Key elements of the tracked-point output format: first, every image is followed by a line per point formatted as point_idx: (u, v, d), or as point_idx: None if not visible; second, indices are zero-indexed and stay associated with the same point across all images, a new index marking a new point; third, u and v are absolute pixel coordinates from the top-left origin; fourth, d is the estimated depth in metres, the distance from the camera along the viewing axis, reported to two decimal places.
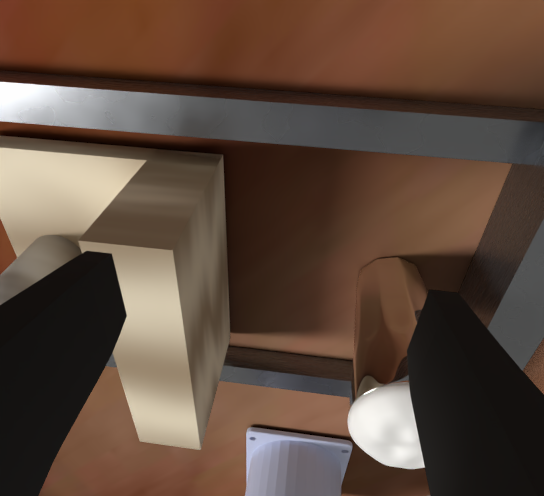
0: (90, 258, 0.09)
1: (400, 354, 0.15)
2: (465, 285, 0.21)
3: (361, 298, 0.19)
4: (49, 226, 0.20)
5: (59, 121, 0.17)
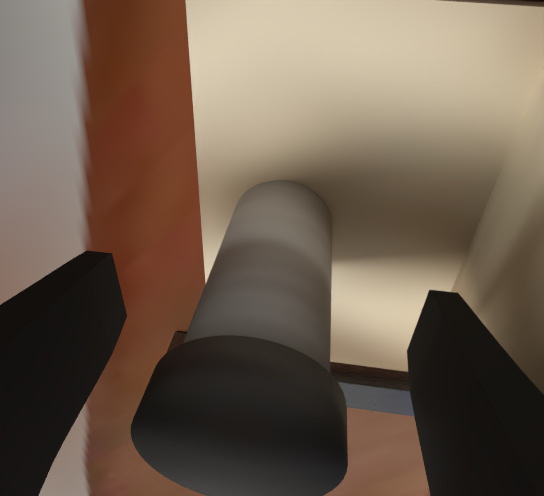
0: (90, 258, 0.09)
1: None
2: None
3: None
4: (285, 163, 0.11)
5: None
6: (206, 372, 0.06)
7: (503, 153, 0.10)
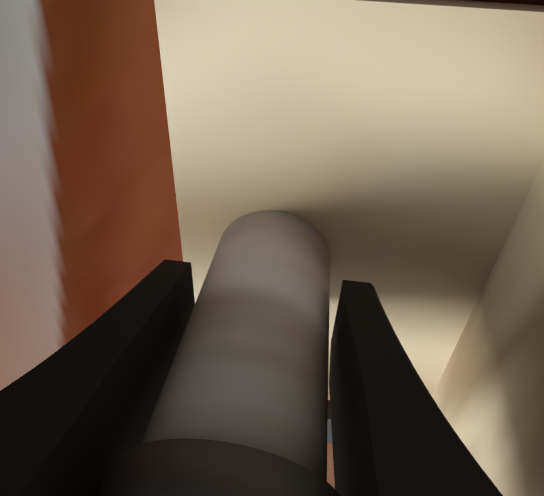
0: (172, 268, 0.09)
1: None
2: None
3: None
4: (276, 191, 0.10)
5: None
6: None
7: (528, 183, 0.09)
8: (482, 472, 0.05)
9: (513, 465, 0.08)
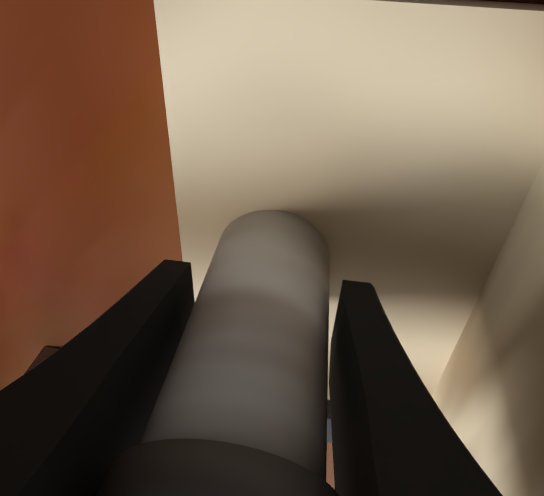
0: (172, 268, 0.09)
1: None
2: None
3: None
4: (275, 190, 0.10)
5: None
6: None
7: (528, 182, 0.09)
8: (482, 472, 0.05)
9: (513, 465, 0.08)
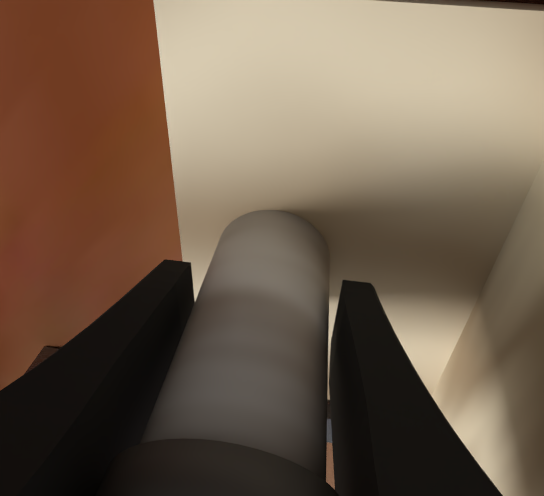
0: (172, 268, 0.09)
1: None
2: None
3: None
4: (275, 190, 0.10)
5: None
6: None
7: (528, 182, 0.09)
8: (482, 472, 0.05)
9: (513, 465, 0.08)
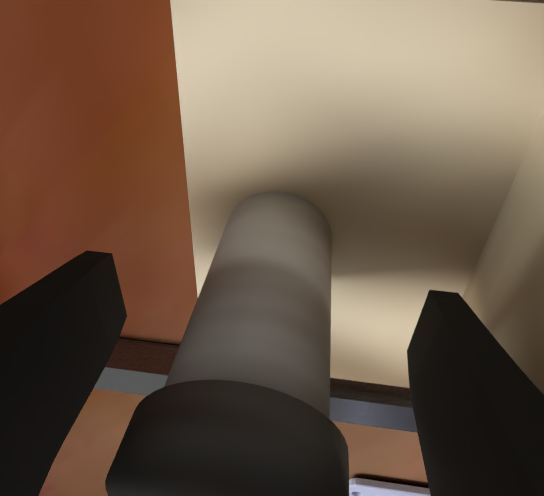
0: (90, 258, 0.09)
1: None
2: None
3: None
4: (281, 173, 0.10)
5: None
6: (188, 427, 0.05)
7: (516, 163, 0.10)
8: None
9: None
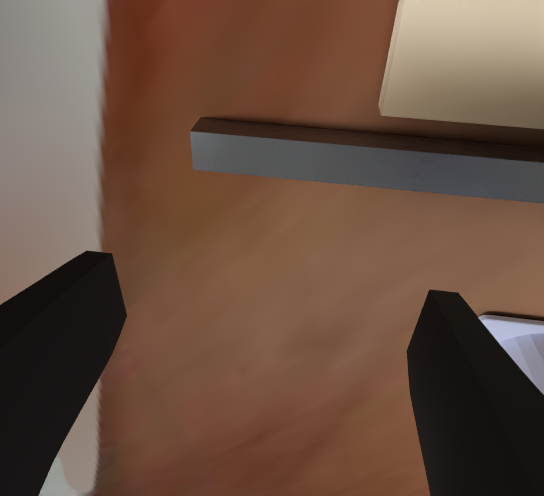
0: (91, 258, 0.09)
1: None
2: None
3: None
4: None
5: None
6: None
7: None
8: None
9: None
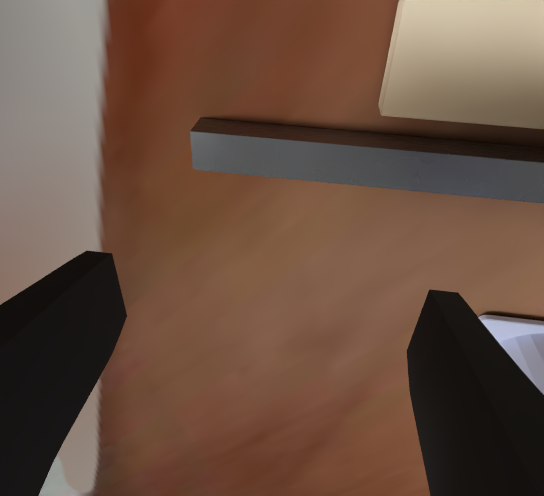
0: (91, 258, 0.09)
1: None
2: None
3: None
4: None
5: None
6: None
7: None
8: None
9: None
